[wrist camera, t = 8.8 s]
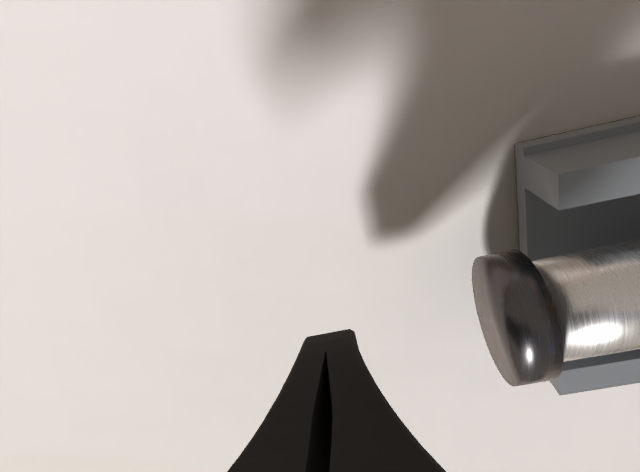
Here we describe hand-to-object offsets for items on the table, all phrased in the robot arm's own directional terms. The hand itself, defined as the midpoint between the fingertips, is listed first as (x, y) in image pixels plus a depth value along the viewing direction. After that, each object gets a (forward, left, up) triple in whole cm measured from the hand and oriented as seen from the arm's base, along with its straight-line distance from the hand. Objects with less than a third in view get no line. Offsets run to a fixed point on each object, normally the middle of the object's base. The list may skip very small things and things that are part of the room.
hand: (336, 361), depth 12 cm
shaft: (-8, 0, -2) cm, 8 cm away
